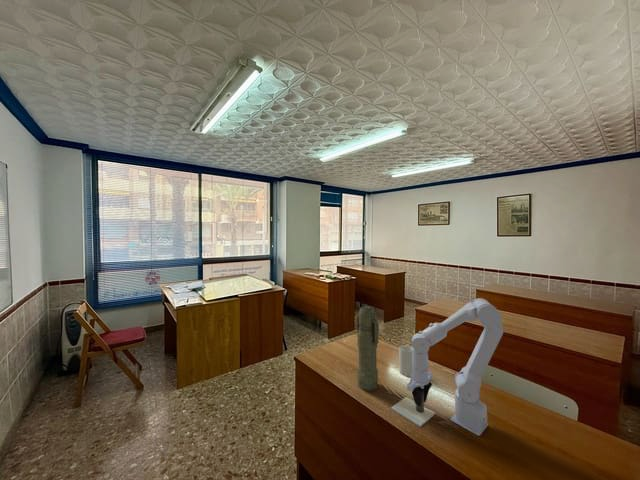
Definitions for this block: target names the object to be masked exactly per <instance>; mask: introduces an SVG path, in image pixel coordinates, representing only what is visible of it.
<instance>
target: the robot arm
mask: <svg viewBox="0 0 640 480" xmlns="http://www.w3.org/2000/svg"><path fill="white" fill-rule="evenodd" d="M478 319H479V321H480V323H481V324H482V326H483V331H482V332H481V334H480V337H479V338H478V341H477V342H476V344H475V347H474V349H473V351H472V352H471V355H470V357H469V359H468V361H467V363H466V365H465V366H463V367H462V368H461V370H460V371H459V372H457V373H456V374H455V375H454V382H455V385H456V390H455V391H454V414H453V416H451V418H450V421H451V422H453V423H454V424H457V425H458V426H460V427H461V428H463V429H465V430H467V431H469V432H471V433H472V434H474V435H476V436H481V435H482V433H483V432H485V430H486V428H487V427H488V426H489V423H488V406H487V405H486V404H485V403H484V402H482V401H481V400H480V398H481V397H480V391H481V387H482V377H483V374H484V372H485V371H486V369H487V367H488V365H489V363H490V361H491V359H492V356H493V355H494V353H495V351H496V349H497V347H498V345H499V343H500V341H501V339H502V338H503V337H502V336H503V335H504V328H503V323H502V322H503V321H502V315H501V313H500V311H499V310H498V309H497V307H495V306H494V305H492V304H491V303H490V302H489V301H488V300H487V299H485V298H482V297H478V298H475V299H473V300H472V301H469V302H468V303H466V304H465V305H464V306H462V307H461V308H460V309H458V310H457V311H456V312H454V313H453V314H451V315H450V316H449V317H448V318H446V319H444V320H443V321H442V322H434V323H432V322H430V323H429V325H428V326H427V327H425V329H424V330H419V331H418V332H417V333H414V335H413V336H412V337H411V347H412V348H413V349H412V352H413V353H412V374H410V376H409V377H410V379H409V380H408V381H409V382H408V383H407V384H406V390H407V391H409V392H411V394H412V396H413V401H414V402H415V404H416V405H418V406H421V403H422V396H423V393H424V403H426V402H427V398H428V396H429V391H430V389H431V388H432V386H433V383H432V382H430V380H431V379H433V372H430V371H429V355H428V353H429V350H430V347H432V346H434V345H436V344H437V343H439V342H440V341H442V340H443V339H446V338H447V336H448V335H447V334H448V332H449V331H451V330H452V329H454V328H456V327H458V326H459V325H461V324H463V323H465V322H467V321H468V322H469V321H470V322H477V323H478V322H479V321H478ZM423 385H424V389H422V388H421V387H420V386H423Z"/></svg>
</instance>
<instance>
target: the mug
mask: <svg viewBox="0 0 640 480" xmlns="http://www.w3.org/2000/svg"><path fill="white" fill-rule="evenodd" d="M412 349H413V347H412V346H410V345H400V346H399V347H398V357H399V359H398V362H399V363H398V365H399V367H398V369H399V374H401V375H402V376H405V377H410V374H412V353H413V352H412Z"/></svg>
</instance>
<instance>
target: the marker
mask: <svg viewBox="0 0 640 480" xmlns="http://www.w3.org/2000/svg"><path fill="white" fill-rule="evenodd" d="M420 387H421V388H422V389H424V385H423V386H420ZM424 407H425V402H424V393H423V396H422V403H421V406H418V405H416V411H417V412H420V413H423V412H424Z"/></svg>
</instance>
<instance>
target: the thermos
mask: <svg viewBox="0 0 640 480" xmlns="http://www.w3.org/2000/svg"><path fill="white" fill-rule="evenodd" d="M379 325H380V324H379V322H378V320H377V312H376V310H375V307H373V306H371V305H363V306H361V307H359V311H358V315H357V317H356V334H357V335H356V337H357V348H358V367H357V385H358V387H359V388H360V389H361V390H362V391H366V392H373V391H376V390H377V389H378V387H379V386H378V382H379V371H378V368H377V363H378V362H377V361H378V360H377V349H378V344H379V331H380V330H379V329H380V328H379Z"/></svg>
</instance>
